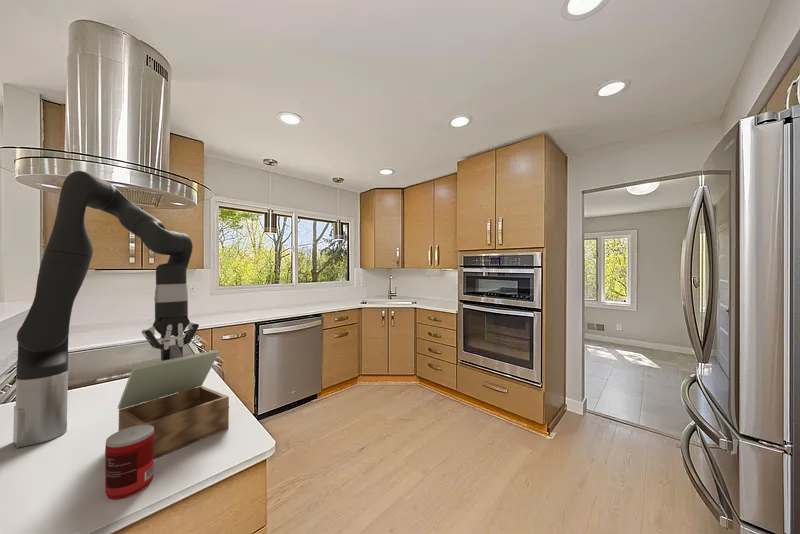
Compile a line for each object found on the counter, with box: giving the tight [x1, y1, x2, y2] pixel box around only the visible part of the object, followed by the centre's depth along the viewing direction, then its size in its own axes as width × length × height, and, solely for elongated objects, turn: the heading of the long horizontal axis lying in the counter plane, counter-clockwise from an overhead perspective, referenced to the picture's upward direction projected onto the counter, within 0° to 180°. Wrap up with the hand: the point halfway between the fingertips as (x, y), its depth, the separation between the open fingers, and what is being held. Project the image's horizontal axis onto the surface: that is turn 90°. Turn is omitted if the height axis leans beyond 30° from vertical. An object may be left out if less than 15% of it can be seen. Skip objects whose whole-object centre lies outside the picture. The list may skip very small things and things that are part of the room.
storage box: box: [118, 385, 230, 461], centre depth 83 cm, size 20×16×9 cm
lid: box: [117, 344, 220, 411], centre depth 86 cm, size 20×16×6 cm
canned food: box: [104, 425, 155, 500], centre depth 63 cm, size 8×8×11 cm
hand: (172, 361), depth 85 cm, fingers closed on lid, 2 cm apart
